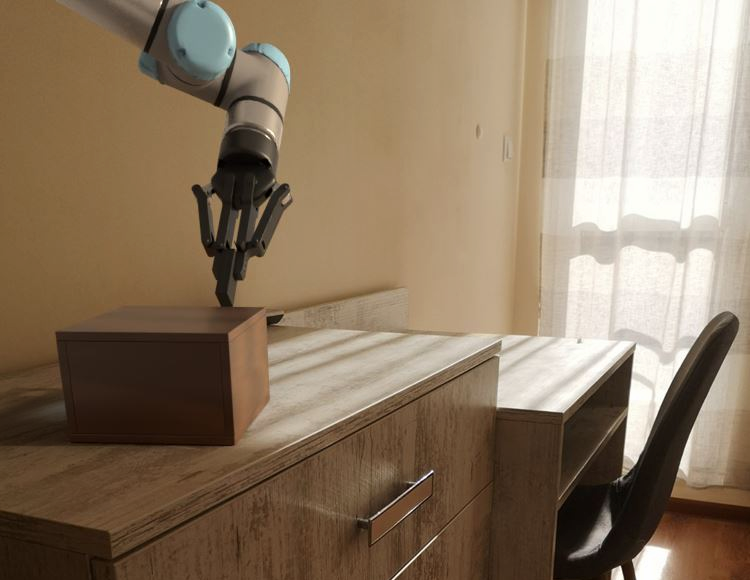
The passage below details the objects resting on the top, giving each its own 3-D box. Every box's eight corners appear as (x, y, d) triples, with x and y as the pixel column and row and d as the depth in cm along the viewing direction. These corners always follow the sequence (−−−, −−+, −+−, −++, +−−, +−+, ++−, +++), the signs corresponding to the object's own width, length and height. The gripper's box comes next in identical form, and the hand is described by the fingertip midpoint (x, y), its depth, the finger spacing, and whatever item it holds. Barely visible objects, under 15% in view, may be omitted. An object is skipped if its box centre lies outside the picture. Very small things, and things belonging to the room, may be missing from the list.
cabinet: (133, 398, 87) (124, 305, 83) (270, 400, 86) (265, 307, 83) (69, 442, 71) (54, 331, 68) (235, 445, 70) (228, 333, 67)
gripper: (304, 169, 109) (283, 318, 100) (210, 171, 111) (181, 318, 102) (293, 124, 102) (270, 280, 94) (193, 126, 104) (160, 280, 95)
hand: (224, 300), depth 98 cm, fingers closed
